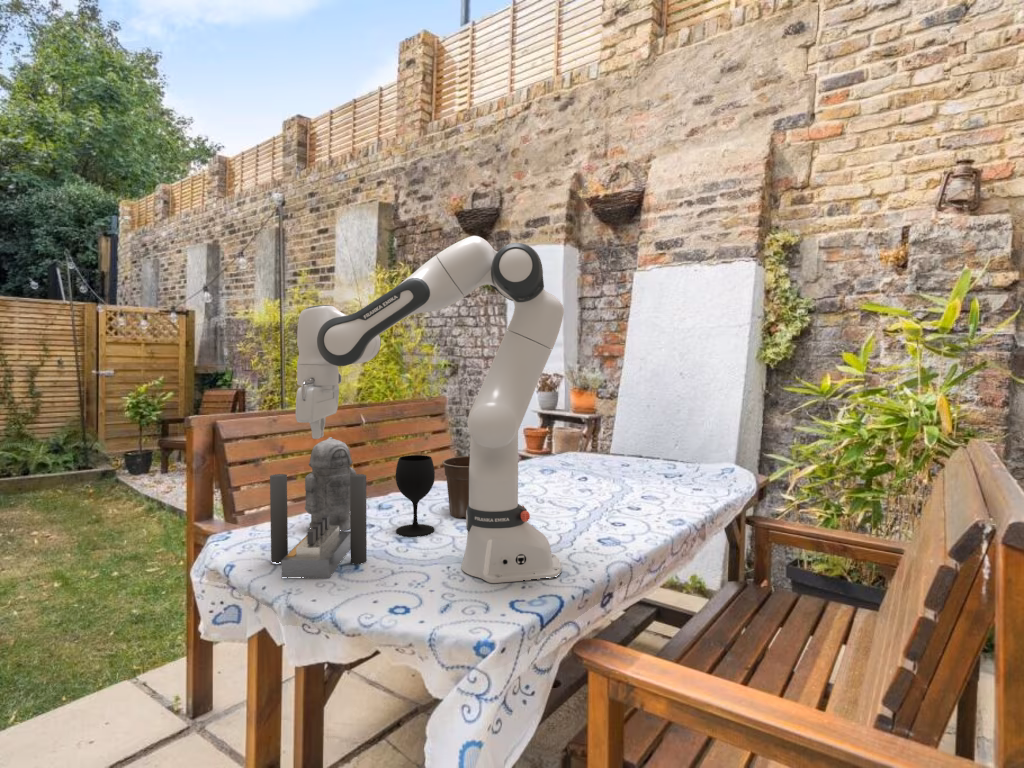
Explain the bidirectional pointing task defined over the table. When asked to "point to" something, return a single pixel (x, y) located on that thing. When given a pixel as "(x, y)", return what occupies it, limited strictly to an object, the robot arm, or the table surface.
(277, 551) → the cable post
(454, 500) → the plant pot
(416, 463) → the wine glass
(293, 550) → the breaker panel
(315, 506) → the figurine
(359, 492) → the disc
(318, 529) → the breaker paddles
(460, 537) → the table surface
